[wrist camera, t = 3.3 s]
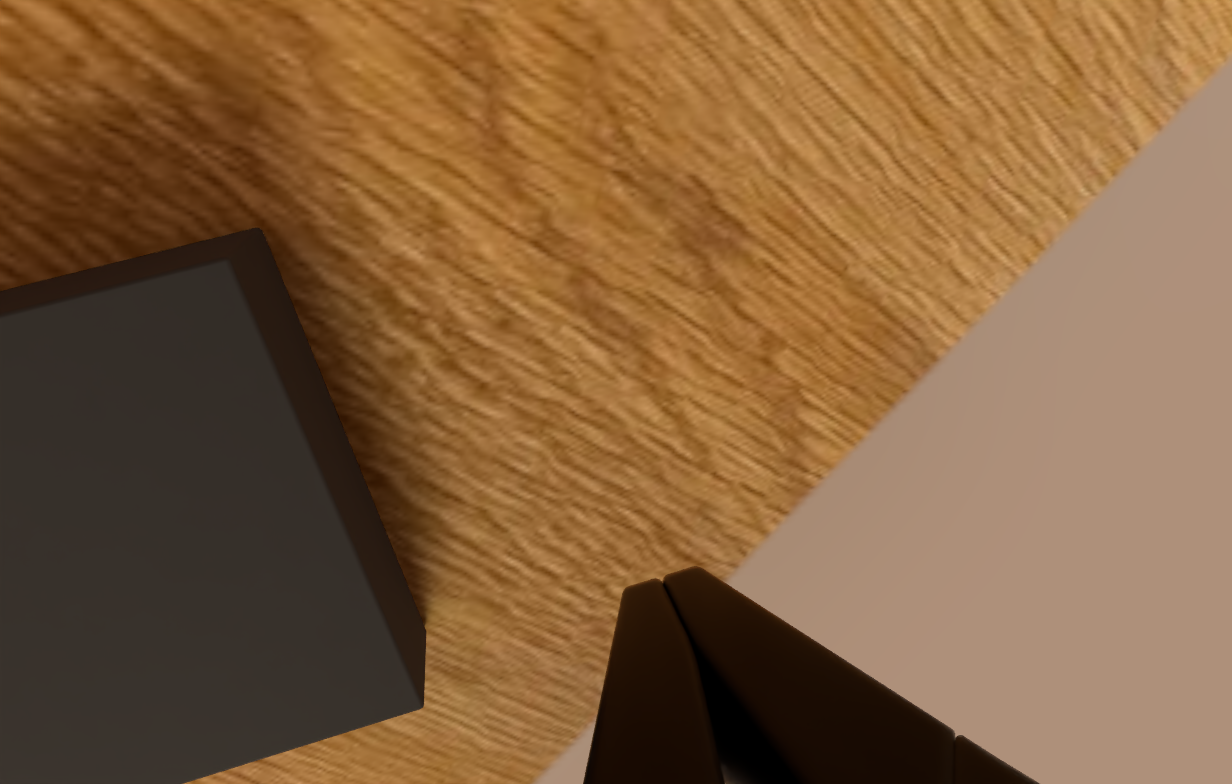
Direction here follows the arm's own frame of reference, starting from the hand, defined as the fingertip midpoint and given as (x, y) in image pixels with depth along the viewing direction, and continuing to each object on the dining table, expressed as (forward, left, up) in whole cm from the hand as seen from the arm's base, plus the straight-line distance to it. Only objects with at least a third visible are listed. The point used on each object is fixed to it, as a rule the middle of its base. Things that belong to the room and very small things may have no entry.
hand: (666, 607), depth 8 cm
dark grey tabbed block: (0, +9, -6) cm, 11 cm away
